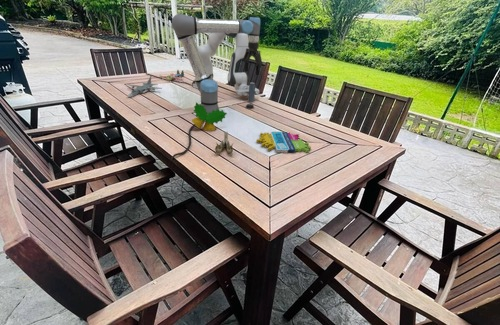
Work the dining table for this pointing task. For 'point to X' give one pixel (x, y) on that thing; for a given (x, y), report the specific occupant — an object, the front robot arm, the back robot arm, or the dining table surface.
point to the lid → (249, 106)
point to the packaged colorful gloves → (283, 142)
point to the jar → (251, 92)
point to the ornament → (207, 117)
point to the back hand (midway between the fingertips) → (251, 94)
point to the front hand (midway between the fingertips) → (251, 73)
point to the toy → (173, 76)
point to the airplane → (142, 88)
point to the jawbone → (224, 145)
